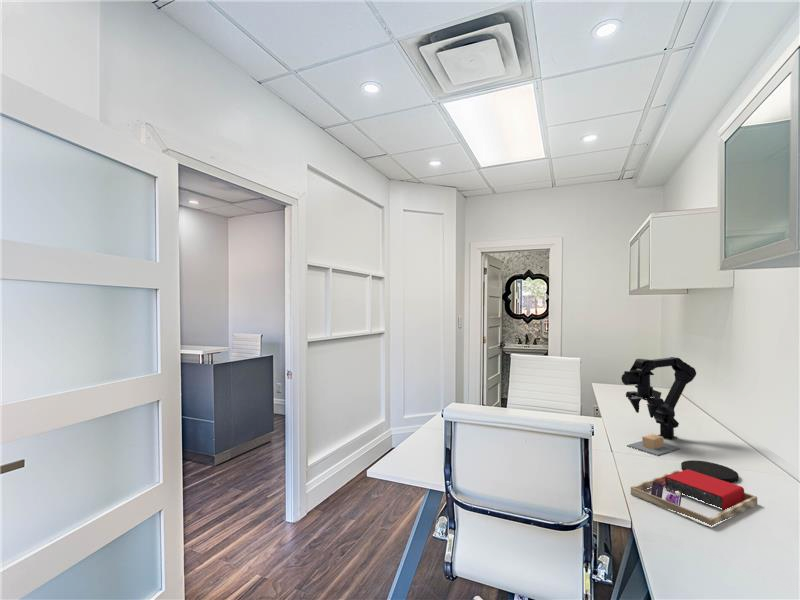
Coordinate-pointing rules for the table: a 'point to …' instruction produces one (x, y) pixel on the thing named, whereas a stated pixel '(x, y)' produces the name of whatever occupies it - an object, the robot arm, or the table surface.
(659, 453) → the mat
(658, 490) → the game card
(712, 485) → the red device housing
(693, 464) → the wireless charger
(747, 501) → the organizer frame
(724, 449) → the table surface
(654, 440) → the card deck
